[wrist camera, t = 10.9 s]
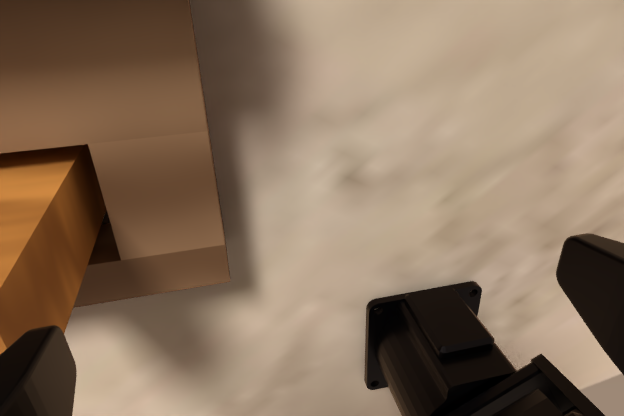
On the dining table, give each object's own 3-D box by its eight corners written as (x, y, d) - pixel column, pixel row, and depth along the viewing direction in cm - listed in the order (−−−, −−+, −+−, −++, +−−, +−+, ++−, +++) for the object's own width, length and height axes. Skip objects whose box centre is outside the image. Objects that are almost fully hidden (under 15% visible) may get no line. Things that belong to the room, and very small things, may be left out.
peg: (107, 207, 19) (36, 412, 10) (27, 217, 18) (-117, 443, 10) (87, 138, 17) (-13, 309, 9) (1, 147, 17) (-195, 338, 8)
